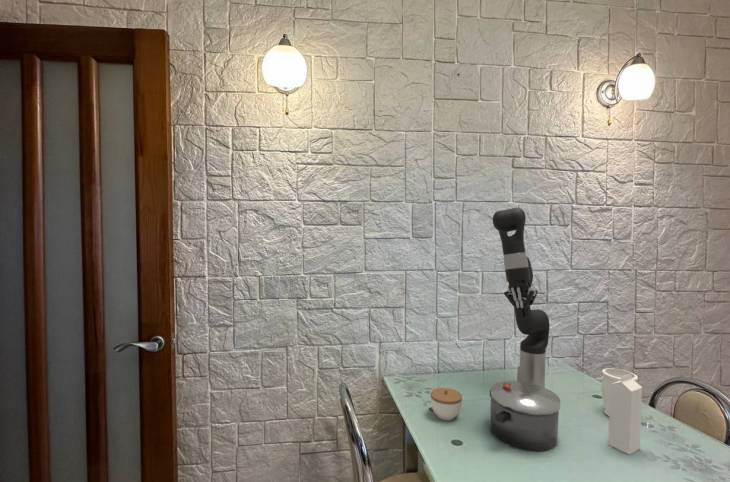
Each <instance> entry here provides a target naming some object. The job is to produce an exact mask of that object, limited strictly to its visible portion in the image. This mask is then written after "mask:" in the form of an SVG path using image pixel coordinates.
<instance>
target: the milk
mask: <svg viewBox="0 0 730 482" xmlns="http://www.w3.org/2000/svg"><path fill="white" fill-rule="evenodd" d="M642 399H643V387H642V385H640V384H639V383H638V382H637V381H636V382H635V381H634V380H633V379H632V374H628V375H626V376H623V377H621V380H620V381H618V382H615V383H612V384H610V409H609V416H608V438H607V439H608V440H607V441H608V442H607V445H608V446H610V447H612V448H615V449H616V450H619V451H621V452H623V453H625V454H627V455H632V454H633V453H635V452H637V451H638V450H640V449H641V426H642V421H641V420H642V401H643V400H642Z"/></svg>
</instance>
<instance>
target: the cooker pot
mask: <svg viewBox="0 0 730 482" xmlns="http://www.w3.org/2000/svg"><path fill="white" fill-rule="evenodd" d="M489 397H490V407H489V409H490V410H489V411H490V413H489V414H490V415H489V430H490V432H491V434H492V435H493V437H494V438H495V439H497V440H498V441H500V442H501V443H502V444H504V445H506V446H509V447H512V448H515V449H518V450H522V451H527V452H537V453H538V452H547V451H550V450H552V449H554V448H555V447H556V446H557V444H558V442H559V441H558V440H559V415H560V414H559V413H560V412H559V411H560V409H559V410H558V411H557V412H556V413H553V414H549V415H528V414H522V413H518V412H514V411H511V410H508V409H506V408H504V407H502V406H500V405H498V404H497V403H496V402H494V400H493V399H492V398H491V388H490V389H489Z"/></svg>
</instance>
